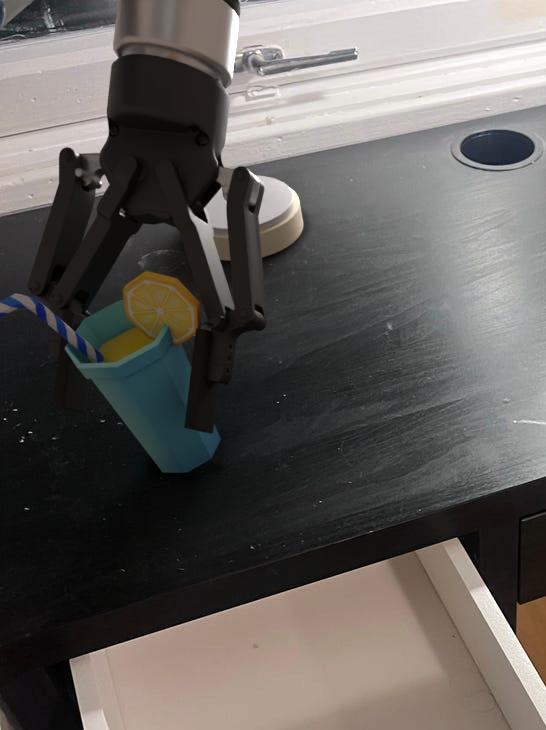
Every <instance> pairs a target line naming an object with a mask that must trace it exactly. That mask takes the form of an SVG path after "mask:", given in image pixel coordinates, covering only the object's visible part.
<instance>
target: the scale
mask: <svg viewBox="0 0 546 730" xmlns="http://www.w3.org/2000/svg"><path fill="white" fill-rule="evenodd" d="M254 175H255V176H256V177H257V178H258V179H260V180H261V181H262V182H263V184H264V187H265V189H264V195H263V199H262V203H261V207H260V212H259V216H258V218H259V230H260V242H261V254H262V258H266V257H267V256H268V257H269V256H270V255H274V254H277V253H279V252H281V251H283V250H285V249H286V248H288V247H289V246H291V245H292V244H294V242H296V241H297V240H298V239H299V237H300V236H301V234H302V232H303V230H304V218H303V213H302V208H301V203H300V198H299V195H298V194H297V192H296V191H295V190H294V189H293V188H291V187H289V185H288V184H286V183H285V182H283V181H281V180H279V179H277V178H274V177H271V176H265V175H256V174H254ZM226 204H227V201H226V200H225V199H224V198H223V191H222V187H221V189H220V190H219V191H218V192H217V193H216V195H215V196H214V197H213V198H212V199H211V201H210V202H209V203H208V204H207V206H206V209H207V212H208V215H209V218H210V222H211V225H212V228H213V231H214V237H213V239H214V243H215V246H216V249H217V252H218V255H219V259H220V261H229V262H230V250H229V238H228V226H227V214H226Z"/></svg>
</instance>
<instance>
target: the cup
mask: <svg viewBox="0 0 546 730" xmlns="http://www.w3.org/2000/svg"><path fill="white" fill-rule="evenodd" d="M122 296H123V299H120V300H118V301H116V302H113V303H111V304H110V305H108V306H106V307H104V308H102V309H100V310H98V311H96V312H95V313H92V315H91V316H89V317H87V318H85V319H84V320H83V321H82V323H81V324H80V326H79V327H78V329H77V330H76V332H75V331H74V330H73V329H71V328H70V327H69V326H68V325H67V324H66V323H64V322H63V321H62V320H61V319H60V318H59V317H57V316H56V315H55V314H54V313H53V311H52V310H50V308H48V307H47V306H45V305H44V304H43V303H42V302H41V301H40V300H39V299H36V298H34V297H32V296H30V295H26V294H21V293H13V294H12V295H10V296H8V297H6V298H4V299H2V300H0V318H2V317H4V316H6V315H8V314H9V313H12V312H14V311H15V310H18V309H19V308H20V309H21V308H22V309H25V310H29V311H31V312H32V313H34V314H35V315H36V316H37V317H38V318H40V319H41V320H42V321H43V322H45V324H47V325H48V326H49V327H50V328H51V329H52V328H53V329H54V330H55V331H56V332H58V333H59V334H60V335H61V336H62V337H64V338H65V339H66V340H67V341H68V343H67V345H66V347H65V350H66V352H67V353H68V355H69V356H70V358H71V359H72V360H73V362H74V363H75V365H76V366H77V368H78V369H79V370H80V372H81V373H82V374H83V375H84V376H85V378H86V379H90V380H91V381H92V382H93V383H94V385H95V386H96V388H98V390H99V391H100V392H101V394H102V395H103V397H104V398H105V399H106V400H107V402H108V403H109V404H110V405H111V407H112V408H113V409H114V411H115V412H116V413H117V415H118V416H119V417H120V418H121V420H122V421H123V423H124V424H125V425H126V426H127V428H128V429H129V431H130V432H131V433H132V434H133V436H134V437H135V438H136V439H137V441H138V442H139V443H140V445H141V446H142V448H143V449H144V451H145V452H146V453H147V454H148V455H149V457H150V458H151V459H152V460H153V462H154V463H155V465H157V467H158V468H159V469H160V471H161V472H162V473H163V474H164V473H166V474H168V473H169V474H170V473H171V474H172V473H173V474H174V473H176V474H177V473H179V474H180V473H183V474H184V473H187V474H188V473H189V472H191V471H193V470H194V469H196V468H198V467H199V466H202V465H203V464H205V463H207V462H208V461H210V460H212V459H213V456H214V455H215V452H216V450H217V449H218V446H219V444H220V442H221V440H222V439H221V436H220V434H219V432H218V429H217V427H216V424H215V423H214V430H213V434H212V433H205V432H200V431H196V430H191V429H187V428H184V426H185V417H186V409H187V401H188V392H189V384H190V376H191V367H192V365H191V364H190V361H189V358H188V356H187V354H186V352H185V349H184V347H183V343H186V341H188V340H189V339H192V338H193V337H195V334H196V328H197V329H202V328H201V327H202V326H201V304H200V301H199V299H197V298H196V297H195V296H194V294H192V293H191V291H189V289H188V288H187V287H186V286H185V285H184V284H183V283H182V282H181V281H180V279H178V278H177V277H173V276H169V275H165V274H161V273H157V272H154V271H153V272H152V271H149V270H145V271H144V272H141V274H139V275H138V276H136V277H135V278H133V279H132V280H130V281H129V282H128V283H126V284H125V285H124V287H123V289H122Z"/></svg>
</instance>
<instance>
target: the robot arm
mask: <svg viewBox="0 0 546 730" xmlns="http://www.w3.org/2000/svg"><path fill="white" fill-rule="evenodd" d="M36 1H37V0H0V31H1V30H2V28H4V27H5V26H6V25H7V24H8V23H10V21H12V20H13V19H14V18H16V16H18V15H19V14H20V13H21V12H22V11H23V10H24V9H26V8H27V7H29V6H31V5H32V4H33V3H34V2H36ZM241 5H242V0H117V8H116V16H115V18H116V19H115V25H114V34H113V40H112V41H113V43H112V50H113V51H114V53H115V55H116V57H117V59H116V60H114V61H113V62H112V63H111V65H110V76H109V84H108V85H109V86H108V92H107V93H108V95H107V103H106V119H107V127H108V135H107V138H106V141H105V142H104V144H103V146H102V148H101V149H100V152H87V153H85V152H84V153H80V152H78V151H76V150H75V149H73V148H71V147H69V146H66V147H63V148H62V149H61V150H60V151H59V154H58V185H57V188H56V191H55V195H54V197H53V200H52V204H51V206H50V207H51V208H50V210H49V214H48V217H47V220H46V224H45V227H44V231H43V234H42V237H41V239H40V243H39V246H38V249H37V252H36V256H35V259H34V262H33V265H32V268H31V272H30V275H29V279H28V281H27V289H28V291H29V293H30V294H31V295H33V296H36V297H38V298H39V299H41V300H43V301H44V302H46V303H48V304H49V305H50V306H51V309H52V312H53V313H54V314H55V315H56V316H57V317H59V318H60V319H61V320H62V321H63V322H64V323H66V324H67V325H68V326H69V327H70V328H71V329H73V330H74V331H75V332H76V330H77V329H78V327H79V326H80V324H81V323H82V321H83V320H84V319H85V318H87V317H89V316H91V315H93V313H90V312H89V311H88V309H89V307H90V306H91V304H92V302H93V301H94V299H95V297H96V296H97V294H98V292H99V291H100V289H101V287H102V286H103V284H104V282H105V280H106V278H107V277H108V276H109V273H110V272H111V270H112V268H113V266H115V263H116V262H117V260H118V258H119V257H120V255H121V254H122V251H123V250H124V248H125V247H126V245H127V243H128V242H129V240H130V238H131V237H132V236H135V235H136V234H138V233H139V232H140V229H141V228H142V226H143V225H160V224H166V225H168V226H171V227H173V228H176V230H177V232H178V233H179V235H180V237H181V241H182V245H183V247H184V250H185V254H186V256H187V260H188V263H189V266H190V270H191V273H192V275H193V279H194V281H195V285H196V288H197V291H198V295H199V297H200V300H201V303H202V307H203V310H204V313H205V316H206V320H207V321H206V320H204V321H203V323H204V325H205V326H206V327H207V328H209V329H210V330H208V329H203V328H201V329H197V328H196V334H195V336H194V343H193V351H192V358H191V359H192V361H191V376H190V384H189V392H188V401H187V409H186V417H185V426H184V428H187V429H191V430H196V431H200V432H205V433H212V434H213V430H214V424H215V423H216V422H215V420H216V413H217V405H218V397H219V389H220V385H227V386H228V385H229V384H230V382H231V380H232V377H233V371H234V370H233V369H234V362H235V355H236V354H235V353H236V347H237V341H238V339H239V337H240V336H241V335H243V334H244V333H248V332H253V331H256V332H262V331H264V330H265V329H266V327H267V323H268V317H267V316H268V315H267V306H266V305H267V303H266V293H265V291H266V290H265V281H264V267H263V257H262V254H261V242H260V230H259V218H258V216H259V212H260V207H261V203H262V199H263V195H264V189H265V187H264V184H263V182H262V181H261V180H260V179H258V178H257V177H256V176H257V175H256V174H254V173H253V172H252V171H251V170H250V169H249V168H247V167H246V166H244V165H239V166H236V168H234V169H233V168H230V167H225V165H224V163H223V157H222V152H223V149H224V148H225V145H226V138H227V129H228V121H229V114H230V105H231V97H230V95H229V93H228V91H227V89H228V88H229V87H230V86H231V85H232V82H233V78H234V77H233V76H234V68H235V61H236V52H237V43H238V36H239V35H238V34H239V27H240V18H241ZM255 175H256V176H255ZM104 176H105V179H106V181H107V183H108V186H107V188H106V189H105V192H104V193H103V195H102V197H101V199H100V200H99V202H98V203H97V206H96V216H95V218H94V220H93V222H92V223H91V226H89V229H88V231H87V233H86V230H87V227H88V224H89V221H90V218H91V215H92V211H93V208H94V205H95V201H96V191H97V190H100V189H101V188H102V186H103V183H102V181H101V180H102V178H103V177H104ZM221 187H222V191H223V198H224V199H225V200H226V201H227V204H226V214H227V226H228V238H229V250H230V261H229V262H230V271H231V273H230V275H231V283H232V285H231V286H232V293H231V291H230V287H229V284H228V281H227V277H226V275H225V271H224V268H223V264H222V261H221V260H220V259H219V255H218V252H217V249H216V246H215V243H214V239H213V237H214V231H213V228H212V225H211V222H210V218H209V215H208V212H207V209H206V206H207V204H208V203H209V202H210V201H211V199H212V198H213V197H214V196H215V195H216V193H217V192H218V191H219V190H220V189H221ZM121 210H122V211H123V213H121ZM232 295H233V297H232ZM50 333H51V334H50V342H49V352H50V357H51V358H55V359H57V367H56V379H55V387H54V395H53V396H54V397H53V408H55V409H60V410H64V411H70V412H73V413H74V412H75V413H79V414H87V409H88V400H89V390H90V383H91V379H86V378H85V376H84V375H83V374H82V373H81V372H80V370H79V369H78V368H77V366H76V365H75V363H74V362H73V360H72V359H71V358H70V356H69V355H68V353H67V352H66V350H65V347H66V345H67V343H68V341H67V340H66V339H65V338H64V337H62V336H61V335H60V334H59V333H58V332H56V331H55V330H54V329H53V328H52V327H51V332H50Z"/></svg>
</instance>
